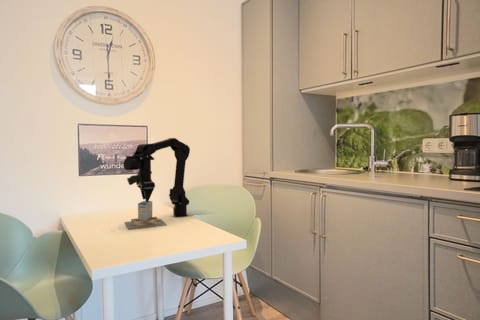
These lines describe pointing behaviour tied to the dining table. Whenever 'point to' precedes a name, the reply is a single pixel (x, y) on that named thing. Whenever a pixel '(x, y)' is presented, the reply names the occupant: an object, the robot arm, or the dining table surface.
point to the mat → (130, 226)
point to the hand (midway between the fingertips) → (145, 200)
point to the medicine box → (144, 210)
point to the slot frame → (149, 222)
